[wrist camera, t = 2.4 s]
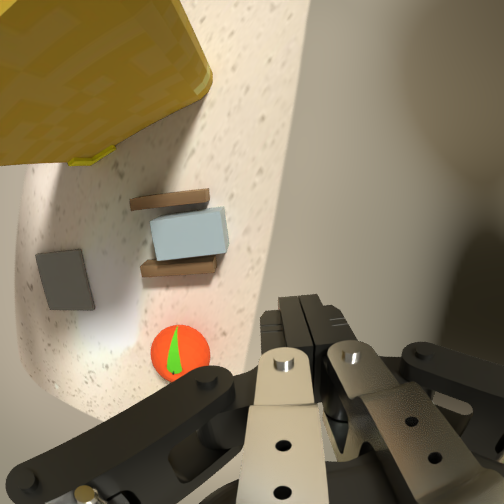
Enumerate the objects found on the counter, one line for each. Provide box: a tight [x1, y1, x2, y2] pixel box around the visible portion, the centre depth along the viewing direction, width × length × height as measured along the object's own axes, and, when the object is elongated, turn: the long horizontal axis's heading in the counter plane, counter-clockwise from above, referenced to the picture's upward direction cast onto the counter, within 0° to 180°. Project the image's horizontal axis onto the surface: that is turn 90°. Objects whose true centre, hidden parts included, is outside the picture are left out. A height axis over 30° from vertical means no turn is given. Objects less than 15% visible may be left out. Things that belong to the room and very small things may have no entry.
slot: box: [130, 188, 217, 277], centre depth 31 cm, size 8×8×2 cm
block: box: [150, 206, 229, 261], centre depth 30 cm, size 4×7×4 cm, turn 97°
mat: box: [35, 249, 95, 310], centre depth 33 cm, size 8×8×1 cm
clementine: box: [151, 325, 210, 382], centre depth 32 cm, size 8×7×7 cm
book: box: [0, 0, 213, 166], centre depth 16 cm, size 17×7×25 cm, turn 113°
